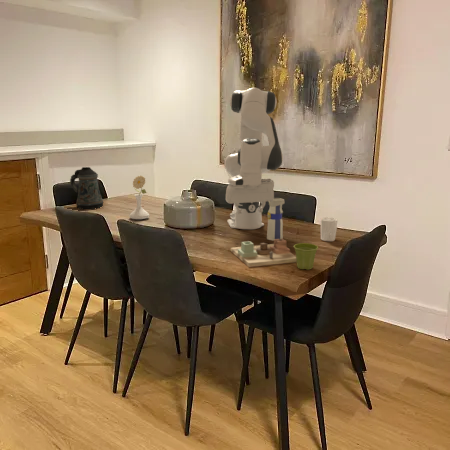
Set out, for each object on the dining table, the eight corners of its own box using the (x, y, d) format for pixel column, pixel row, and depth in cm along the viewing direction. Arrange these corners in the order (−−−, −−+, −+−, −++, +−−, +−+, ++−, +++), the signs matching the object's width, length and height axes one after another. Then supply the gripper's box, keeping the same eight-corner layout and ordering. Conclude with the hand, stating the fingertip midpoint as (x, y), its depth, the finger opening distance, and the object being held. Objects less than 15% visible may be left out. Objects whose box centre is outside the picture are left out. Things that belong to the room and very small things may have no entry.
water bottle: (269, 241, 216) (271, 189, 210) (263, 236, 224) (264, 186, 218) (285, 240, 218) (288, 188, 212) (279, 235, 226) (281, 185, 220)
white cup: (338, 238, 222) (339, 218, 219) (333, 242, 215) (334, 222, 213) (322, 236, 226) (323, 216, 223) (317, 240, 219) (318, 219, 217)
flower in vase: (125, 218, 260) (123, 174, 254) (142, 215, 268) (141, 172, 262) (137, 222, 251) (135, 177, 245) (155, 219, 258) (153, 175, 252)
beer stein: (103, 209, 284) (101, 168, 278) (71, 210, 279) (67, 169, 273) (103, 203, 300) (101, 165, 294) (72, 205, 295) (69, 166, 289)
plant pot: (305, 273, 175) (306, 251, 172) (287, 266, 182) (288, 245, 180) (321, 268, 180) (323, 247, 178) (304, 262, 187) (305, 241, 185)
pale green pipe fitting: (237, 252, 194) (237, 241, 193) (251, 251, 196) (251, 240, 194) (242, 257, 188) (243, 245, 187) (257, 255, 190) (257, 244, 189)
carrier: (230, 251, 201) (230, 235, 199) (276, 246, 208) (276, 232, 206) (248, 266, 181) (249, 250, 179) (298, 261, 188) (299, 245, 186)
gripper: (271, 177, 191) (269, 209, 195) (224, 179, 185) (224, 212, 188) (277, 179, 185) (275, 212, 189) (229, 181, 179) (229, 216, 183)
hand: (249, 212), depth 189 cm, fingers open, 8 cm apart
